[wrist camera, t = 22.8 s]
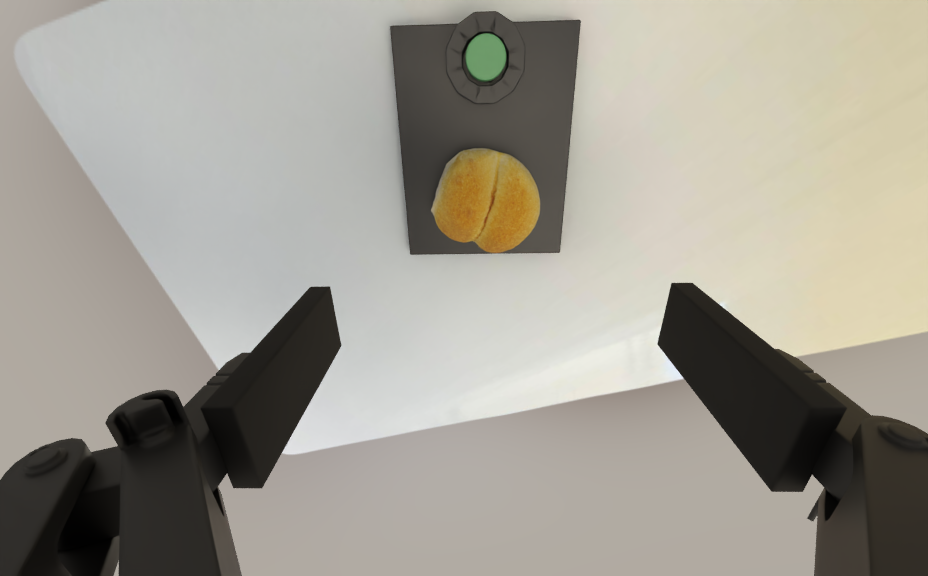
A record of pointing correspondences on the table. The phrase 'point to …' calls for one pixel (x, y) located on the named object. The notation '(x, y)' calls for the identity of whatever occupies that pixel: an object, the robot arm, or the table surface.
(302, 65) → the table surface
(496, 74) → the button
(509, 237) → the bread roll
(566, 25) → the scale
